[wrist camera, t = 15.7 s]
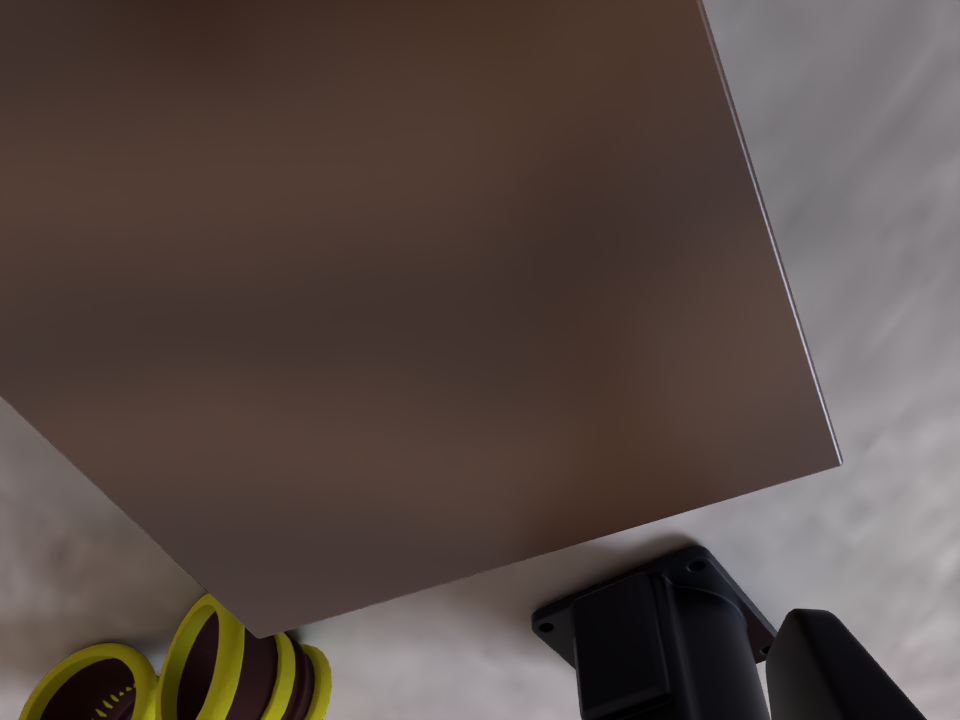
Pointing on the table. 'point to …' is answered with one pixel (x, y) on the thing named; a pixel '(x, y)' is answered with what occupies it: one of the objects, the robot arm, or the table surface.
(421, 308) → the organiser
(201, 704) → the opera glasses
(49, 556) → the table surface
